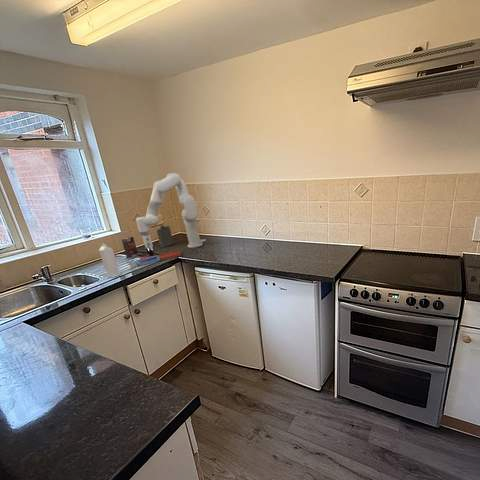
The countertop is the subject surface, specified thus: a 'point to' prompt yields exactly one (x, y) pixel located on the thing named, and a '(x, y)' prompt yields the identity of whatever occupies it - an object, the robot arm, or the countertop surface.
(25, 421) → the countertop surface
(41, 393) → the countertop surface
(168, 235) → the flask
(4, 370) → the countertop surface
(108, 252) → the milk
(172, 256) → the terracotta tray
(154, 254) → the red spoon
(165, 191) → the robot arm
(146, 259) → the blue spoon
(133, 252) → the supplement box
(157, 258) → the pale blue tray
